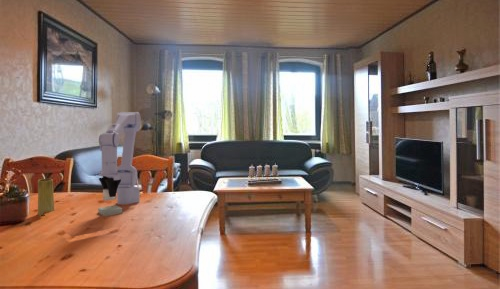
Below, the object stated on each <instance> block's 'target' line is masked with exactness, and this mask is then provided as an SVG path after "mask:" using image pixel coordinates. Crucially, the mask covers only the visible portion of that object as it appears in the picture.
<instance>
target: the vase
mask: <svg viewBox="0 0 500 289" xmlns="http://www.w3.org/2000/svg"><path fill="white" fill-rule="evenodd" d="M37 194H38V196H37V214H36V215H37V216H41V217H42V216H43V217H44V216H46V215H45V214H44V213H50V212H53V211H55V201H54V200H55V198H54V180H53V179H52V178H42V179H38V180H37Z"/></svg>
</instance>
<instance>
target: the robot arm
mask: <svg viewBox="0 0 500 289" xmlns="http://www.w3.org/2000/svg"><path fill="white" fill-rule="evenodd" d="M141 124H142V119H141V114H140V112H139V111H135V112H134V111H130V112H129V111H118V112H117V114H116V122H115V123H111V125H110V126H109V127H108V129H107V130H106V131H105V132H102V133H100V135H99V137H98V144H99V150H100V152H101V171H100V173H98V176H99V178H98V180H99V182H100V184H101V187H102V190H103V189H108V191H109V196H110V197H115V196H116V203H117V205H131V204H135V203H140V193H141V192H140V186H138V185H137V183H138V179H139V177H138V169H137V168H136V167H135V166H134V165H133V158H134V151H135V143H136V136H137V132H140V130H141ZM123 133H124V140H123V147H122V154H121V162H120V165H118V146H119V145H120V141H121V137H122V135H123Z"/></svg>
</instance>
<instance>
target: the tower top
mask: <svg viewBox="0 0 500 289" xmlns="http://www.w3.org/2000/svg"><path fill="white" fill-rule="evenodd" d="M97 212H98V214H100V215H101V216H102V217H109V216H113V215H120V214H123V208H122V207H120V206H118V205H109V206H102V207H98V208H97Z"/></svg>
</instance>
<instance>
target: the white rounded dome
mask: <svg viewBox="0 0 500 289" xmlns="http://www.w3.org/2000/svg"><path fill="white" fill-rule="evenodd" d="M102 200H103V201H114V200H117V195H116V196H115V197H110V196H109V191H108V189H103V188H102Z"/></svg>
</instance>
